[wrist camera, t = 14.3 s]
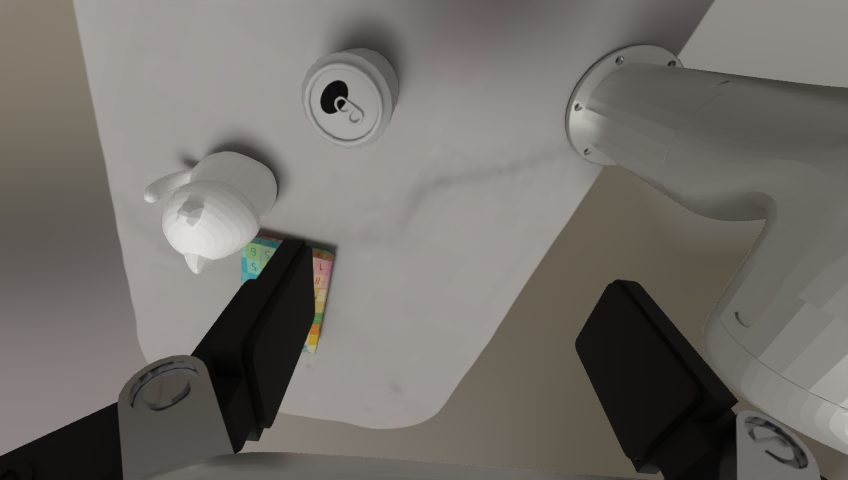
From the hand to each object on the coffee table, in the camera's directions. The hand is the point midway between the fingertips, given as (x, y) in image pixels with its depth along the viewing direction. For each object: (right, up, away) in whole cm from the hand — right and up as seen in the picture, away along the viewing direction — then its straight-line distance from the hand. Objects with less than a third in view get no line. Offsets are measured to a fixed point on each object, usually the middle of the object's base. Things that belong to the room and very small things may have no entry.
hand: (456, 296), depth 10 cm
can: (-7, +19, +26) cm, 33 cm away
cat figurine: (-24, +10, +31) cm, 41 cm away
